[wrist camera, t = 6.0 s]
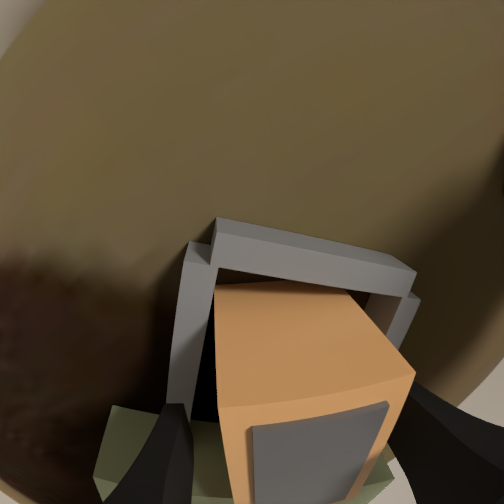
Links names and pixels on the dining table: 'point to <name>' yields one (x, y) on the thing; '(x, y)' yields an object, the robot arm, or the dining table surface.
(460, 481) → the robot arm
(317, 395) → the orange box grey panel
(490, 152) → the dining table surface
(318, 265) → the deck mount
